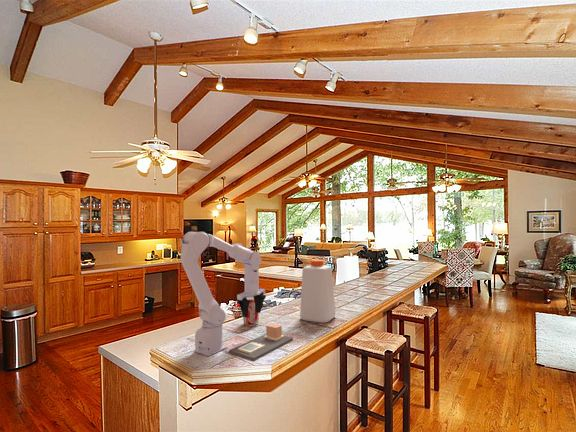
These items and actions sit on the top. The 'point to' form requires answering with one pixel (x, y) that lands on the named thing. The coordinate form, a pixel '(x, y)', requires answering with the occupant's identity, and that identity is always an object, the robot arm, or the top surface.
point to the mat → (269, 347)
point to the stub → (274, 332)
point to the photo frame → (251, 347)
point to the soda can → (251, 314)
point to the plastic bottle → (317, 293)
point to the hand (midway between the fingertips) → (251, 314)
